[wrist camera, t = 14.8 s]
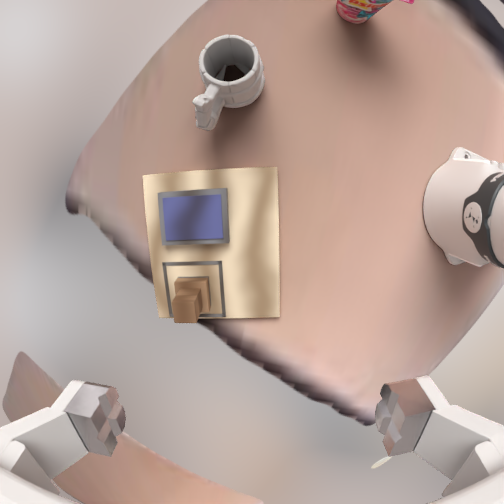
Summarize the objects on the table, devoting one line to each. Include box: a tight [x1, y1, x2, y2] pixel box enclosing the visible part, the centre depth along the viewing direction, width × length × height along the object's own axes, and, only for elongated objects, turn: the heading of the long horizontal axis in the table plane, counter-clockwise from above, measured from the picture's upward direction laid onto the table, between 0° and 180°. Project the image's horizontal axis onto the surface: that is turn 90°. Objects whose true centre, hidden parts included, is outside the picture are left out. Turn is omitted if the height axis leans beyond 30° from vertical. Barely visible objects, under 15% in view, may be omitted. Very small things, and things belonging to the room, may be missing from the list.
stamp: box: [172, 276, 211, 323], centre depth 39 cm, size 4×4×7 cm
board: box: [143, 167, 280, 318], centre depth 41 cm, size 18×21×3 cm
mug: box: [193, 35, 265, 131], centre depth 31 cm, size 8×12×12 cm, turn 154°
